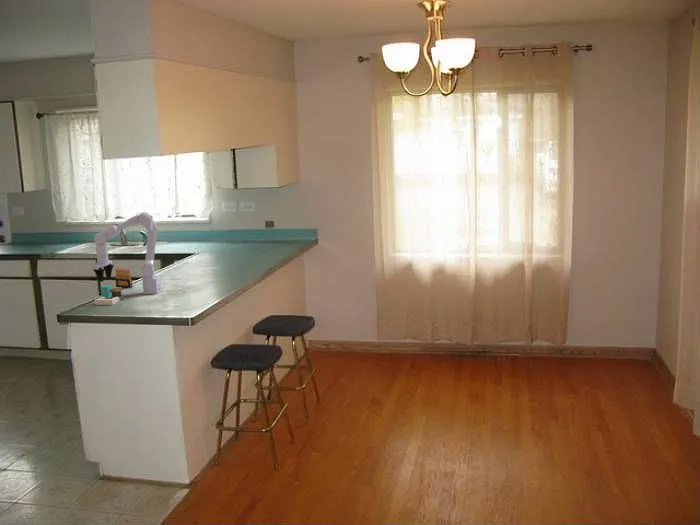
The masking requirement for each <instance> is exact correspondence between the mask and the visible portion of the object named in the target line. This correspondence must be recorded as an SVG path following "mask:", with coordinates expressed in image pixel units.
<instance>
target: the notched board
mask: <svg viewBox="0 0 700 525" xmlns="http://www.w3.org/2000/svg"><path fill="white" fill-rule="evenodd" d="M119 302H120V299H119V297H114V298H112V299H110V298H105V297H102V296H99V297H98V298H96V299H94V305H95V306H97V305H98V306H100V305H101V306H103V305H104V306H107V305H108V306H112V305H115V304H117V303H119Z"/></svg>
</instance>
